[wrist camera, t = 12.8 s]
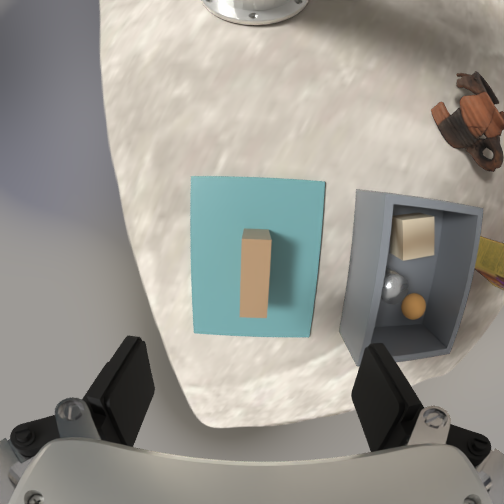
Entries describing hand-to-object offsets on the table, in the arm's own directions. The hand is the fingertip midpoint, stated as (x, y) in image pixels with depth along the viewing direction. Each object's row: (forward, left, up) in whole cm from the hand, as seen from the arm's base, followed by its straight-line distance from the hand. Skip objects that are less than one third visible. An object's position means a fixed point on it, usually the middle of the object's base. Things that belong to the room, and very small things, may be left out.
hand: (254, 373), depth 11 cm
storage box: (+1, +16, -18) cm, 24 cm away
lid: (+1, 0, -19) cm, 19 cm away
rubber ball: (+5, +18, -16) cm, 25 cm away
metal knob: (+2, +14, -18) cm, 22 cm away
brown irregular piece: (-18, +25, -19) cm, 36 cm away
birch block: (-3, +16, -18) cm, 24 cm away
